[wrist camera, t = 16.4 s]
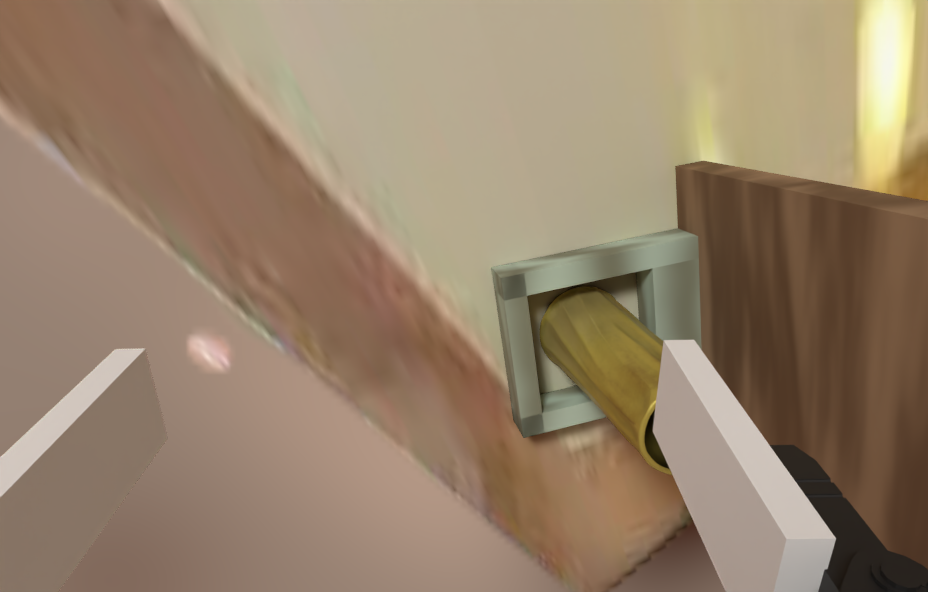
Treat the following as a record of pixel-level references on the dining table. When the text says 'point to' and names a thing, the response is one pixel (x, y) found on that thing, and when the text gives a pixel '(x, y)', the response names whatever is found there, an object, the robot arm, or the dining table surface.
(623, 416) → the vase
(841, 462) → the board
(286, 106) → the dining table surface
